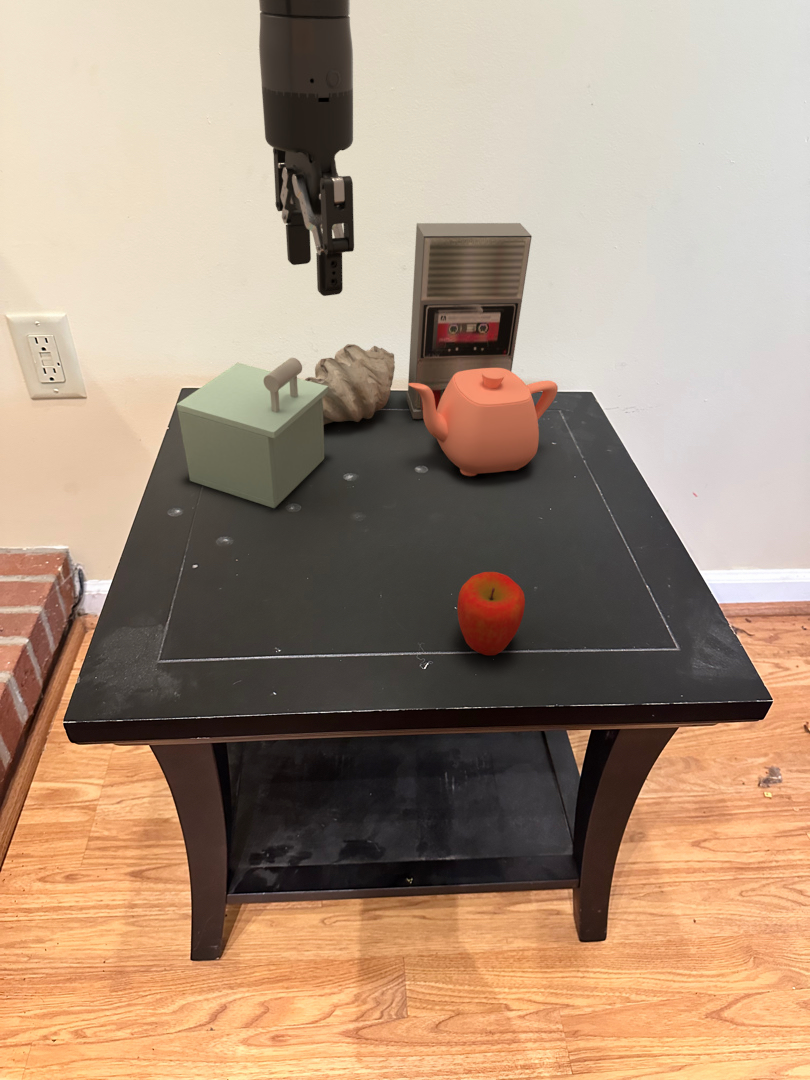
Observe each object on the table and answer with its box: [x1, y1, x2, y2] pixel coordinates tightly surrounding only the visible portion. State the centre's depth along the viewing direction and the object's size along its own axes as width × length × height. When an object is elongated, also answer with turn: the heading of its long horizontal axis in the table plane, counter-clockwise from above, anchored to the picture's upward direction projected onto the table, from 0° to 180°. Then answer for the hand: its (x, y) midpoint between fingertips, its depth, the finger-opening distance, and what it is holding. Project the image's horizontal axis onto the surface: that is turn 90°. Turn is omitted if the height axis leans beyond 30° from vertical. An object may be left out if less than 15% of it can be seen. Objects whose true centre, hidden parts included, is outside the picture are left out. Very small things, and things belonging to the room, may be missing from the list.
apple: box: [457, 571, 526, 657], centre depth 68 cm, size 6×6×8 cm
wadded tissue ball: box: [304, 343, 396, 426], centre depth 100 cm, size 10×15×10 cm
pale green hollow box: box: [177, 397, 325, 509], centre depth 89 cm, size 12×12×10 cm
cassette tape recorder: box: [405, 222, 533, 420], centre depth 98 cm, size 14×6×25 cm, turn 99°
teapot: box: [407, 368, 559, 477], centre depth 93 cm, size 13×20×12 cm, turn 106°
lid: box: [176, 357, 328, 438], centre depth 84 cm, size 13×12×5 cm
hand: (314, 277), depth 70 cm, fingers open, 8 cm apart
